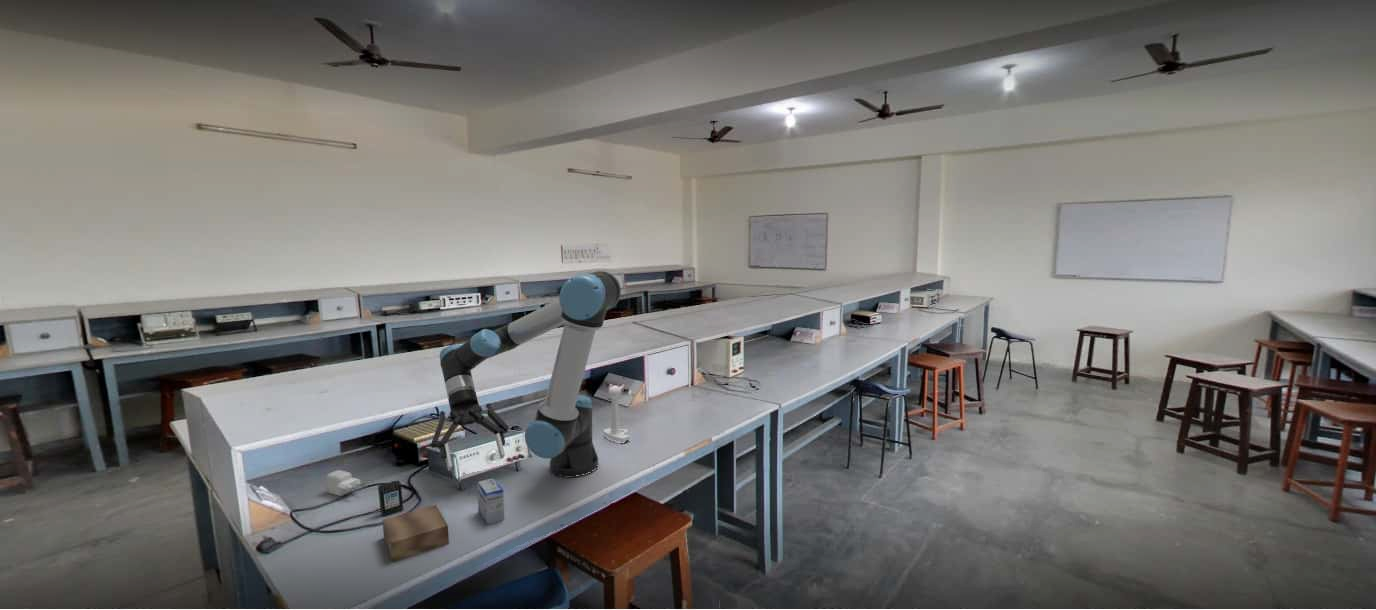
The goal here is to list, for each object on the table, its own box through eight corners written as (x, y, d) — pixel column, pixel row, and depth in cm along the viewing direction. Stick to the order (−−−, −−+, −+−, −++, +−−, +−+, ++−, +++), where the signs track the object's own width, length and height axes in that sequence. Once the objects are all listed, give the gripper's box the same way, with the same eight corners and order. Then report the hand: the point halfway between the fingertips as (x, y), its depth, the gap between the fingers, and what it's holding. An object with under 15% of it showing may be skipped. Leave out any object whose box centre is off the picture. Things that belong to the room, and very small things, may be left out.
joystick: (600, 436, 194) (600, 383, 191) (616, 431, 199) (616, 379, 196) (620, 445, 186) (620, 390, 183) (636, 439, 192) (636, 385, 189)
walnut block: (436, 523, 137) (435, 504, 136) (449, 544, 127) (447, 525, 126) (383, 539, 129) (382, 519, 129) (392, 563, 120) (391, 543, 119)
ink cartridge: (382, 517, 138) (379, 488, 137) (380, 513, 140) (377, 485, 139) (403, 510, 142) (400, 482, 140) (401, 507, 143) (398, 479, 142)
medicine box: (478, 512, 141) (476, 481, 140) (495, 507, 144) (493, 477, 143) (487, 525, 135) (485, 493, 134) (504, 520, 138) (503, 488, 136)
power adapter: (369, 494, 150) (367, 474, 149) (352, 502, 146) (351, 482, 145) (341, 486, 154) (339, 467, 153) (324, 494, 150) (323, 474, 149)
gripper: (503, 393, 163) (520, 457, 154) (413, 408, 149) (425, 479, 139) (507, 381, 158) (525, 446, 148) (414, 395, 144) (427, 468, 134)
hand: (477, 462), depth 144 cm, fingers open, 13 cm apart
